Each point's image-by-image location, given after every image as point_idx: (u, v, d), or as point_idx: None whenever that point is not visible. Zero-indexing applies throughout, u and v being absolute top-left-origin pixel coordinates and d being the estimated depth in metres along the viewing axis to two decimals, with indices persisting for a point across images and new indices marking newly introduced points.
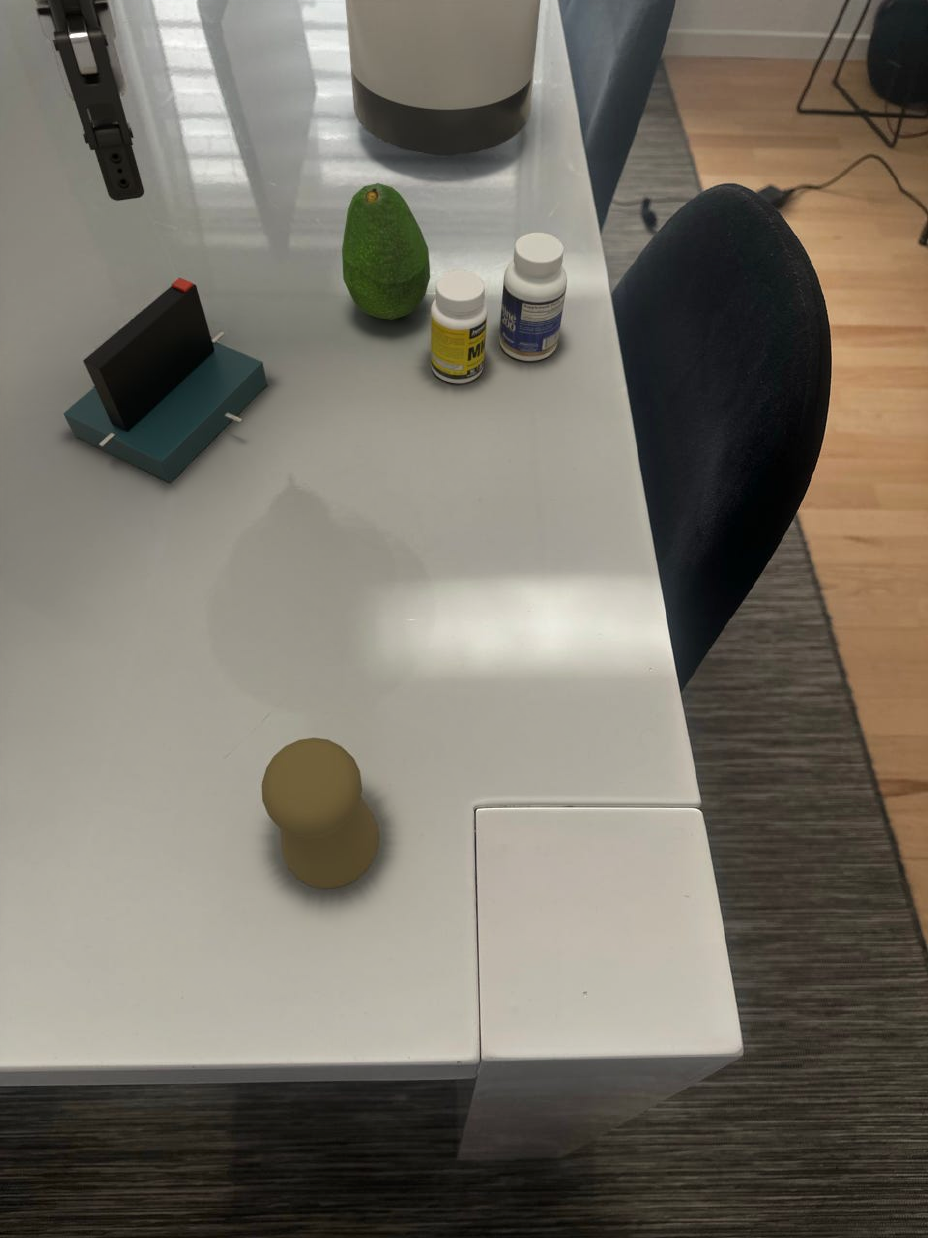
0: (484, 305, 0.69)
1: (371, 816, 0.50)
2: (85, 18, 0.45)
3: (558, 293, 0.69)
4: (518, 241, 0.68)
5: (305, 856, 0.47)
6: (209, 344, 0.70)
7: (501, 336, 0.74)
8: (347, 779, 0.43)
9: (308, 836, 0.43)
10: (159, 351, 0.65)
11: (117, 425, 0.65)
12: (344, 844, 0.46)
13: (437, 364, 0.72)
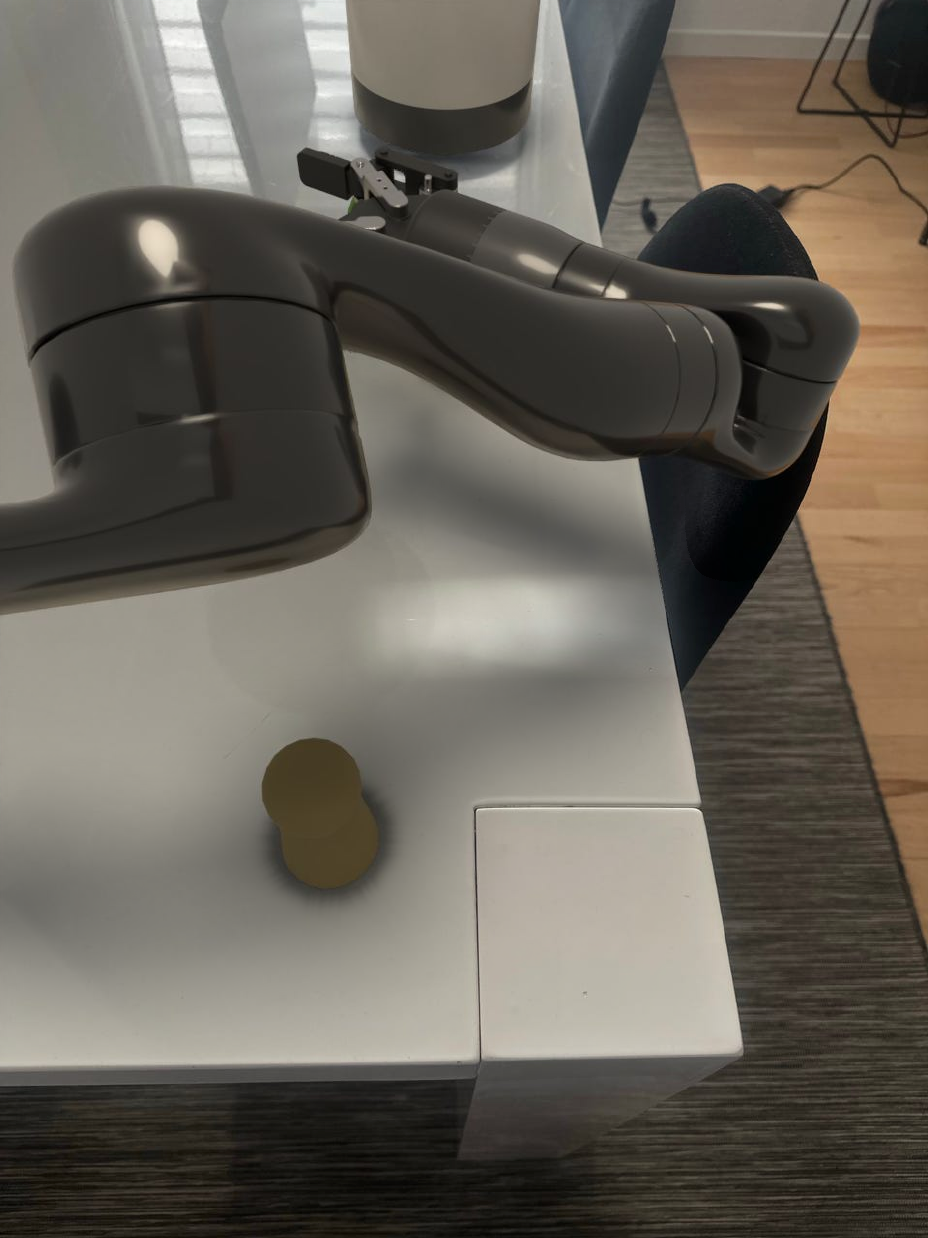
0: None
1: (371, 816, 0.50)
2: None
3: None
4: None
5: (306, 856, 0.47)
6: None
7: None
8: (347, 779, 0.43)
9: (308, 836, 0.43)
10: None
11: None
12: (344, 844, 0.46)
13: None
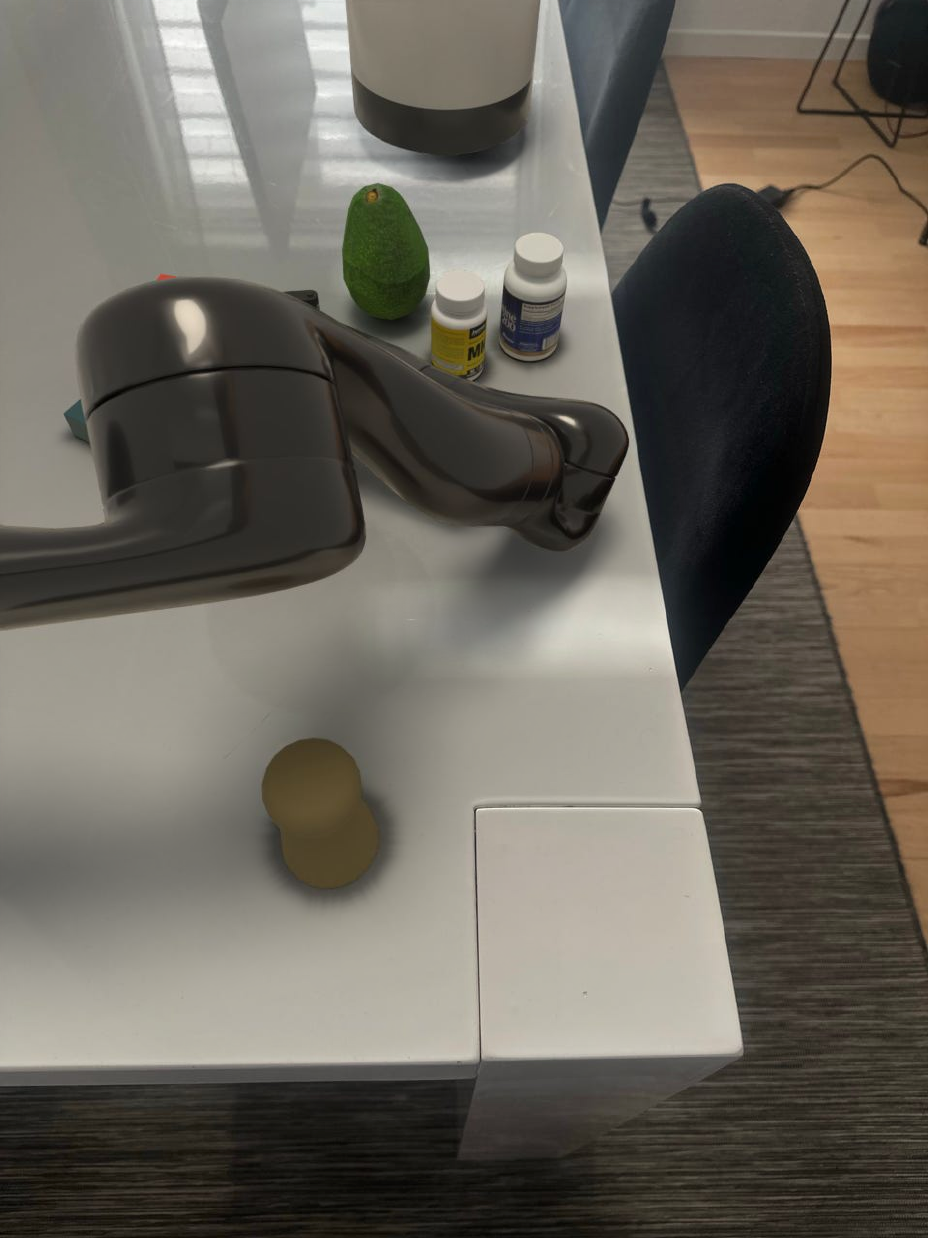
0: (484, 305, 0.69)
1: (371, 816, 0.50)
2: None
3: (558, 293, 0.69)
4: (518, 241, 0.68)
5: (306, 856, 0.47)
6: None
7: (501, 336, 0.74)
8: (347, 779, 0.43)
9: (308, 836, 0.43)
10: None
11: None
12: (344, 844, 0.46)
13: (437, 364, 0.72)
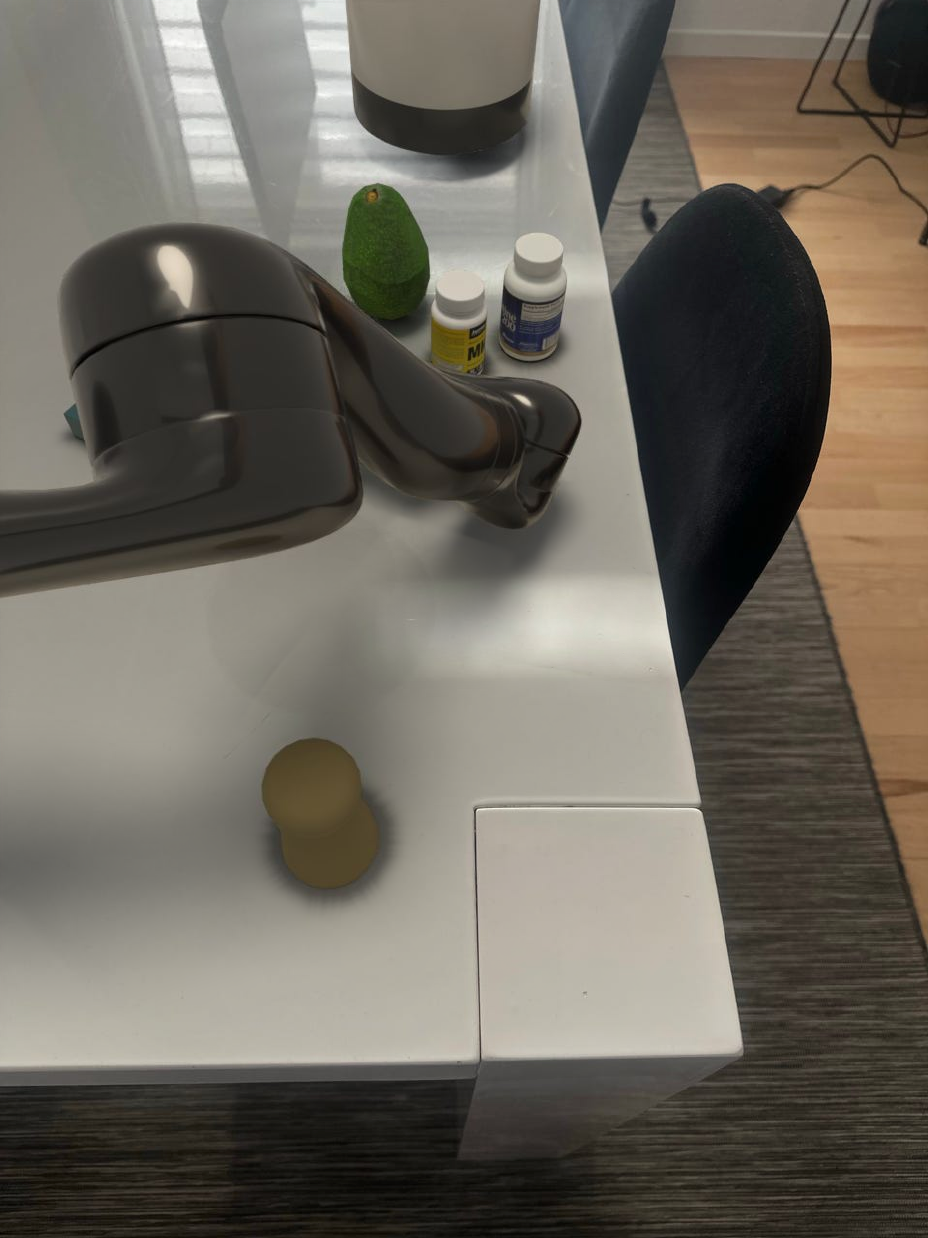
0: (484, 305, 0.69)
1: (371, 816, 0.50)
2: None
3: (558, 293, 0.69)
4: (518, 241, 0.68)
5: (305, 856, 0.47)
6: None
7: (501, 336, 0.74)
8: (347, 779, 0.43)
9: (308, 836, 0.43)
10: None
11: None
12: (344, 844, 0.46)
13: (437, 364, 0.72)
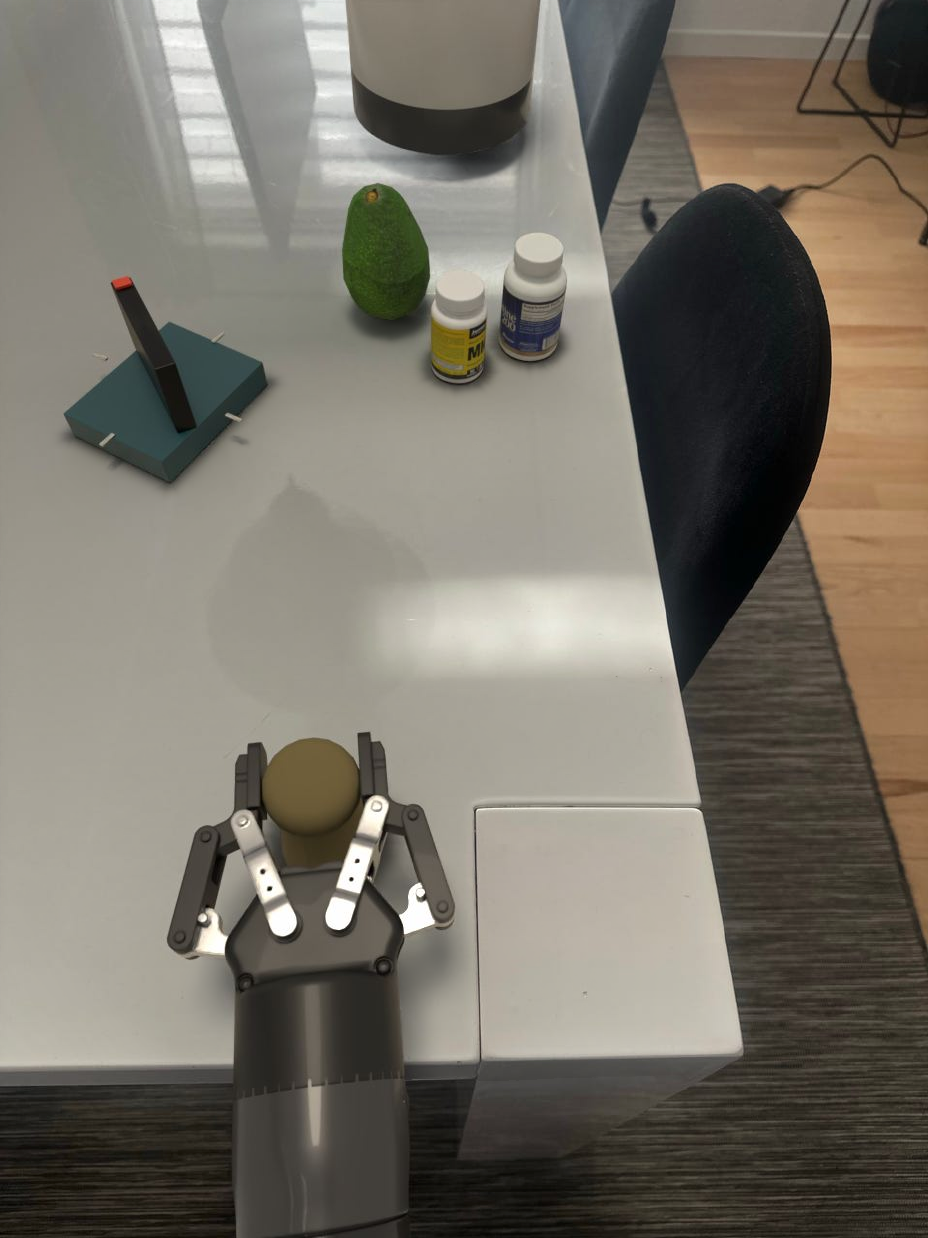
0: (484, 305, 0.69)
1: None
2: None
3: (558, 293, 0.69)
4: (518, 241, 0.68)
5: (305, 856, 0.47)
6: None
7: (501, 336, 0.74)
8: (347, 779, 0.43)
9: (308, 836, 0.43)
10: None
11: (184, 428, 0.65)
12: (344, 844, 0.46)
13: (437, 364, 0.72)
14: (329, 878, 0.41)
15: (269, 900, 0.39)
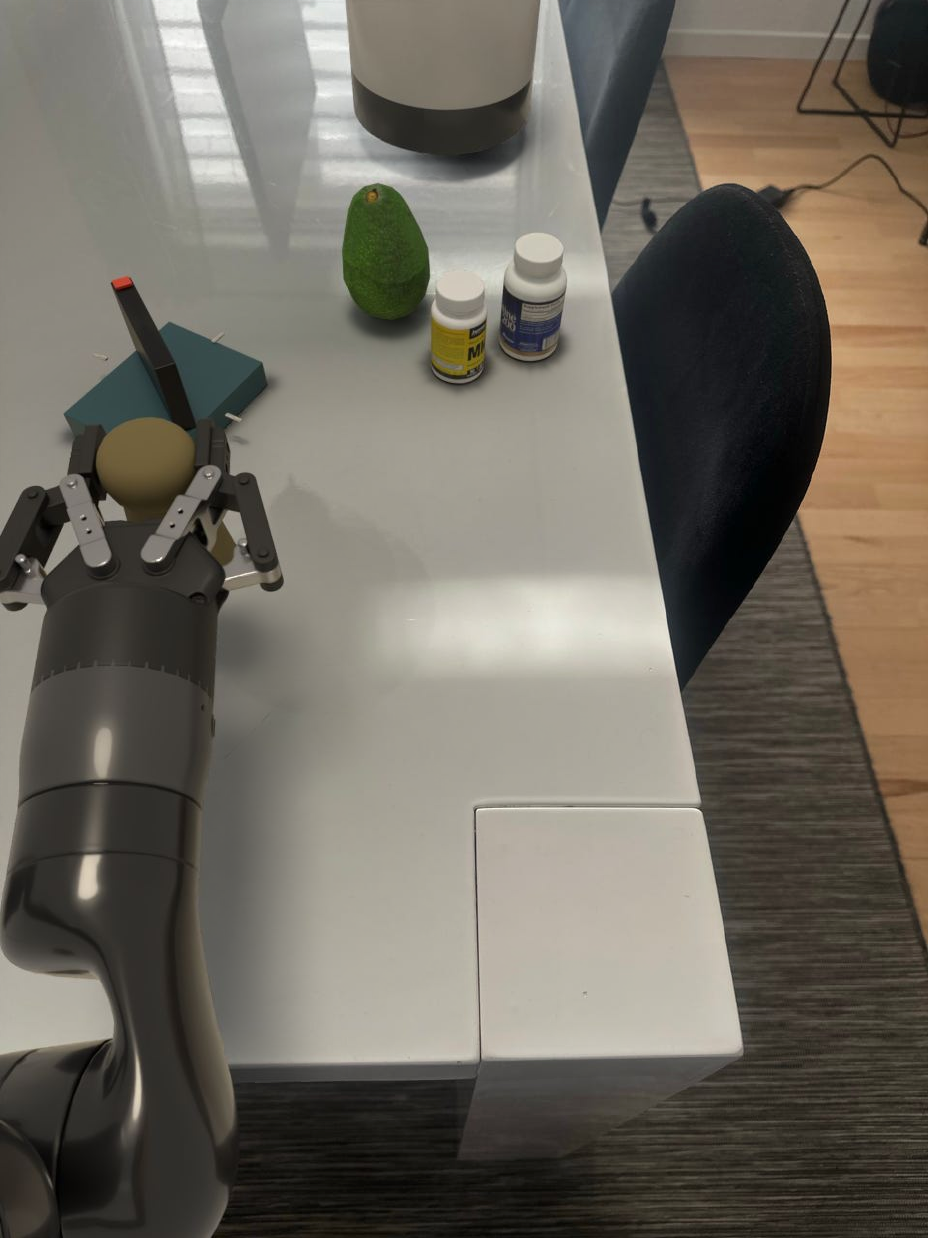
0: (484, 305, 0.69)
1: (230, 537, 0.50)
2: None
3: (558, 293, 0.69)
4: (518, 241, 0.68)
5: None
6: None
7: (501, 336, 0.74)
8: (181, 448, 0.42)
9: (140, 504, 0.42)
10: None
11: (184, 428, 0.65)
12: None
13: (437, 364, 0.72)
14: (153, 529, 0.40)
15: (87, 540, 0.39)
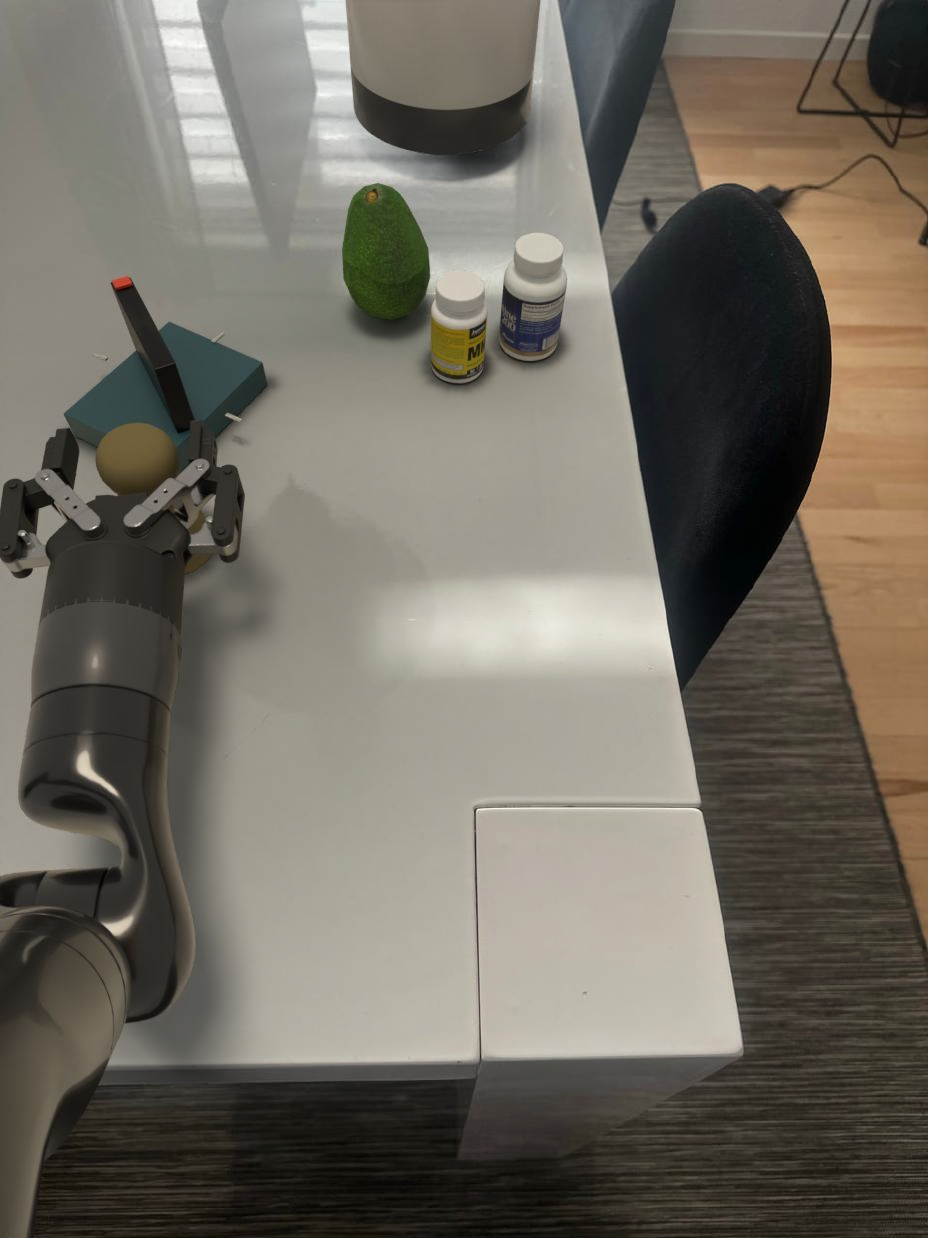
0: (484, 305, 0.69)
1: None
2: None
3: (558, 293, 0.69)
4: (518, 241, 0.68)
5: None
6: None
7: (501, 336, 0.74)
8: (162, 447, 0.54)
9: (131, 491, 0.54)
10: None
11: (184, 428, 0.65)
12: None
13: (437, 364, 0.72)
14: (133, 502, 0.51)
15: (76, 513, 0.50)
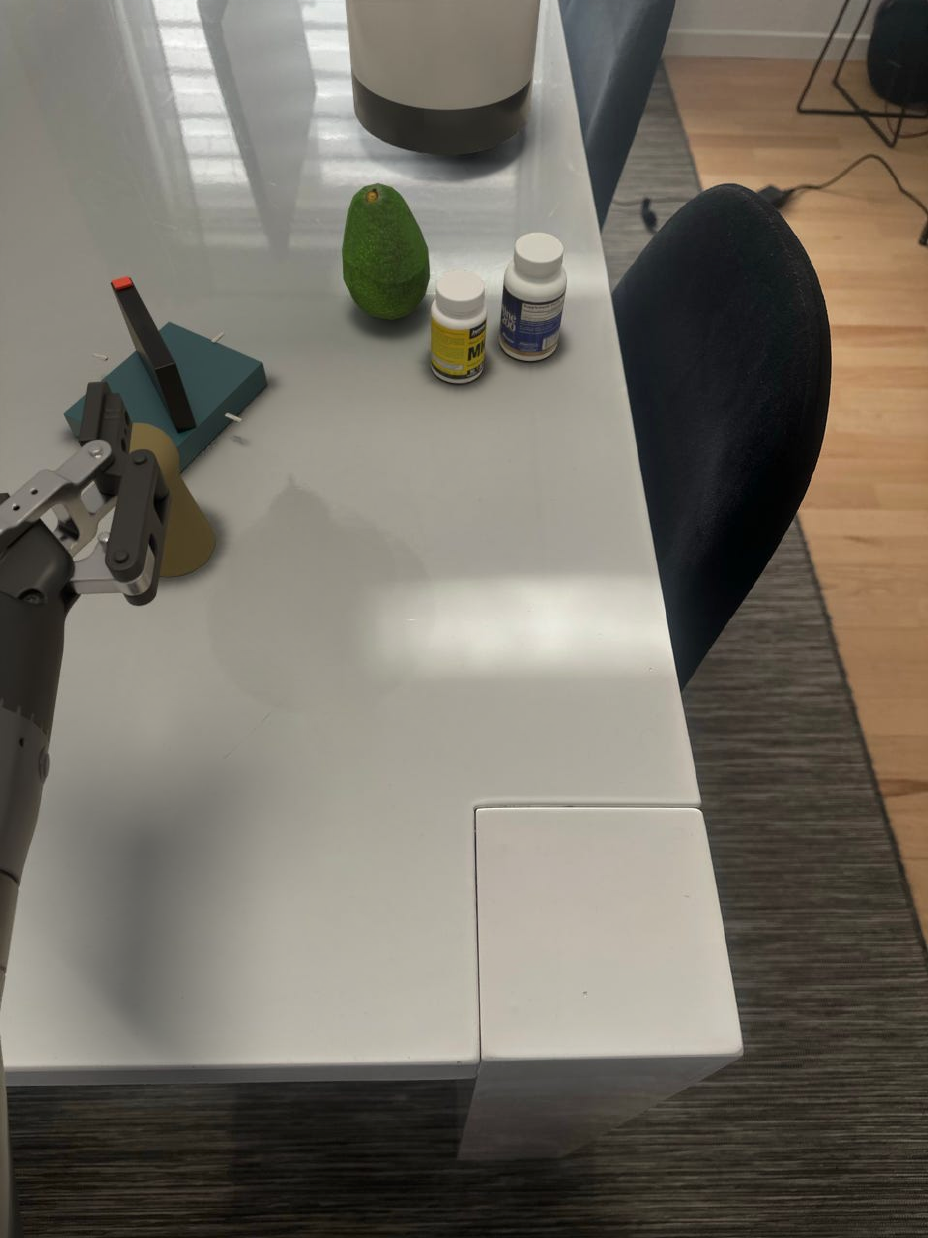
0: (484, 305, 0.69)
1: (205, 519, 0.62)
2: None
3: (558, 293, 0.69)
4: (518, 241, 0.68)
5: None
6: None
7: (501, 336, 0.74)
8: (162, 447, 0.54)
9: None
10: None
11: (184, 428, 0.65)
12: (171, 521, 0.58)
13: (437, 364, 0.72)
14: None
15: None
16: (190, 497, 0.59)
